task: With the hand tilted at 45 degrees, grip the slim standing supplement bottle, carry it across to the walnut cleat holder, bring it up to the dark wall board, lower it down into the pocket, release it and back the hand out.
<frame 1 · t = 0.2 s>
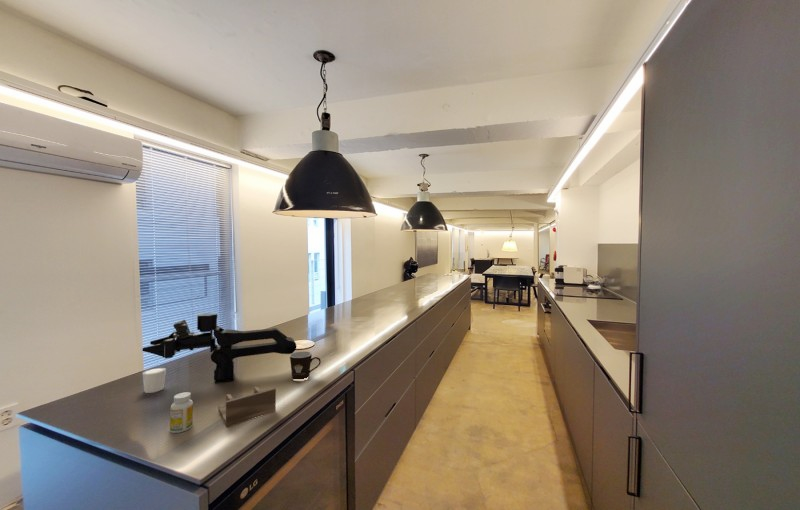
hand: (146, 346, 111), 17 cm above the worktop, tool horizontal, fingers open, 9 cm apart
supplement bottle: (181, 429, 87), on the worktop
cleat holder: (248, 412, 96), on the worktop
coffee mug: (303, 379, 123), on the worktop
white cup: (154, 390, 112), on the worktop
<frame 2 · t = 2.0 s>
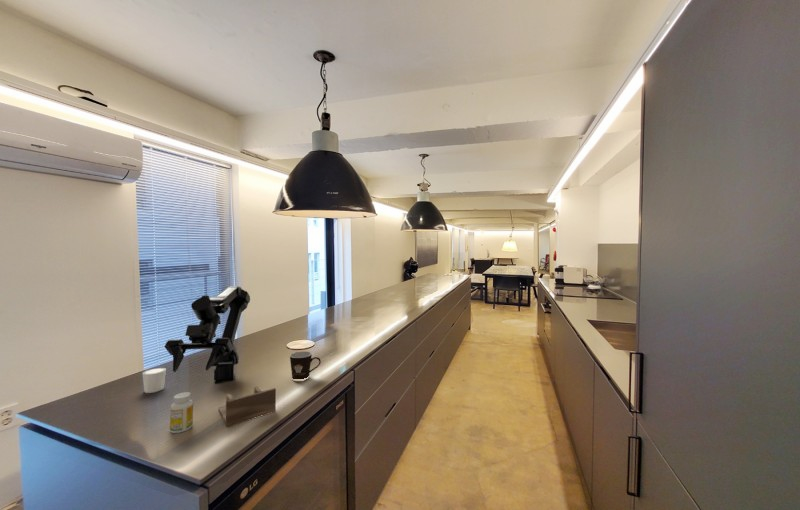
hand: (190, 370, 95), 14 cm above the worktop, tool tilted 45°, fingers open, 9 cm apart
nothing on the worktop moved.
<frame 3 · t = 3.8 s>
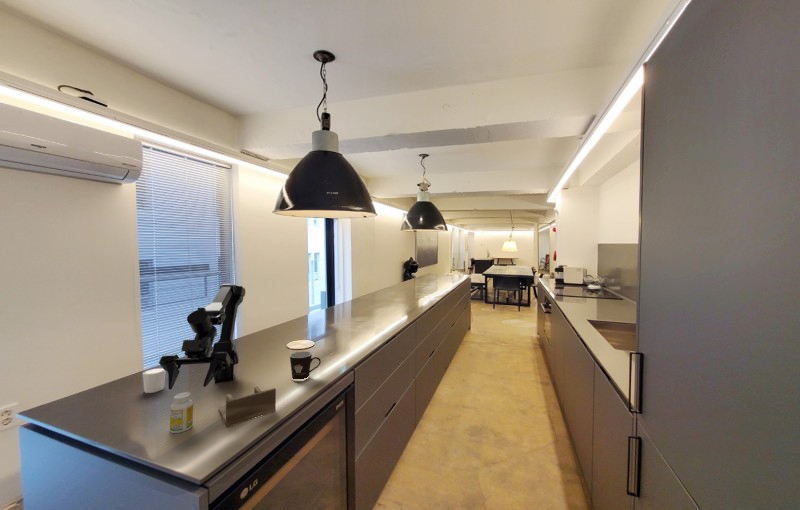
hand: (187, 387, 90), 10 cm above the worktop, tool tilted 45°, fingers open, 9 cm apart
nothing on the worktop moved.
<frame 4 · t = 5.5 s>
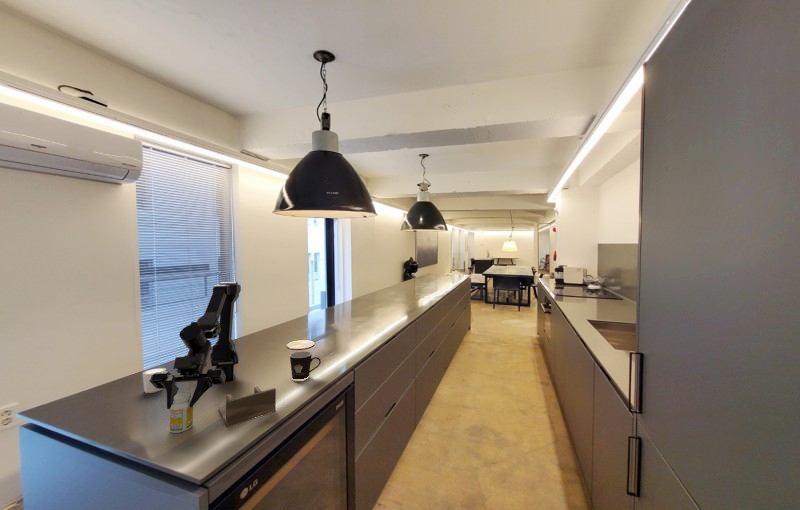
hand: (179, 407, 86), 7 cm above the worktop, tool tilted 45°, fingers closed on supplement bottle, 5 cm apart
supplement bottle: (181, 429, 87), on the worktop, touching gripper
everything else where it was.
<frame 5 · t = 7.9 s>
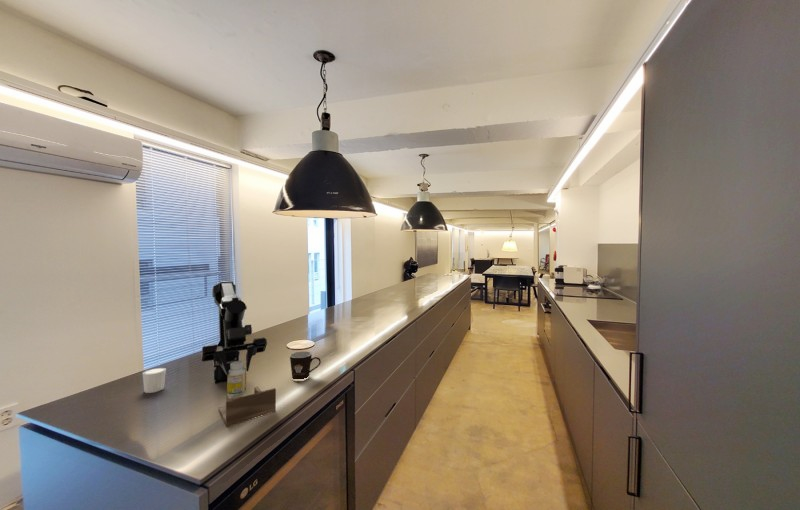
hand: (237, 372, 95), 13 cm above the worktop, tool tilted 45°, fingers closed on supplement bottle, 5 cm apart
supplement bottle: (236, 393, 96), point 6 cm above the worktop, touching gripper
everything else where it was.
when the fingers open (9 cm above the worktop, at t = 10.4 s): supplement bottle stays where it is, resting on cleat holder.
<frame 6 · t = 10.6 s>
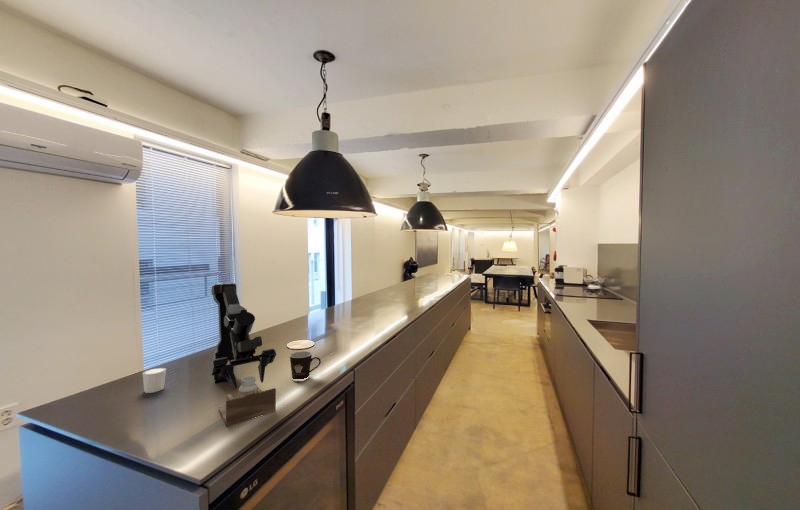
hand: (249, 385, 95), 9 cm above the worktop, tool tilted 45°, fingers open, 7 cm apart
supplement bottle: (247, 409, 96), point 1 cm above the worktop, touching cleat holder
everything else where it was.
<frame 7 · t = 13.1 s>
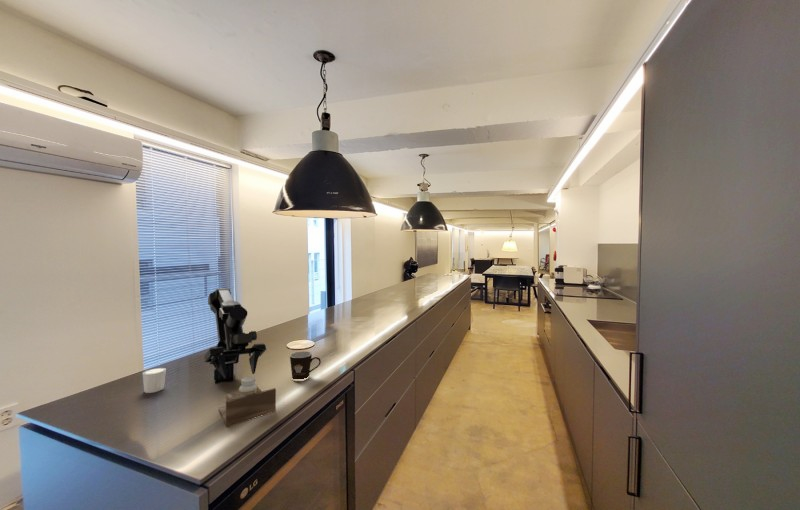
hand: (240, 375, 102), 9 cm above the worktop, tool tilted 40°, fingers open, 9 cm apart
nothing on the worktop moved.
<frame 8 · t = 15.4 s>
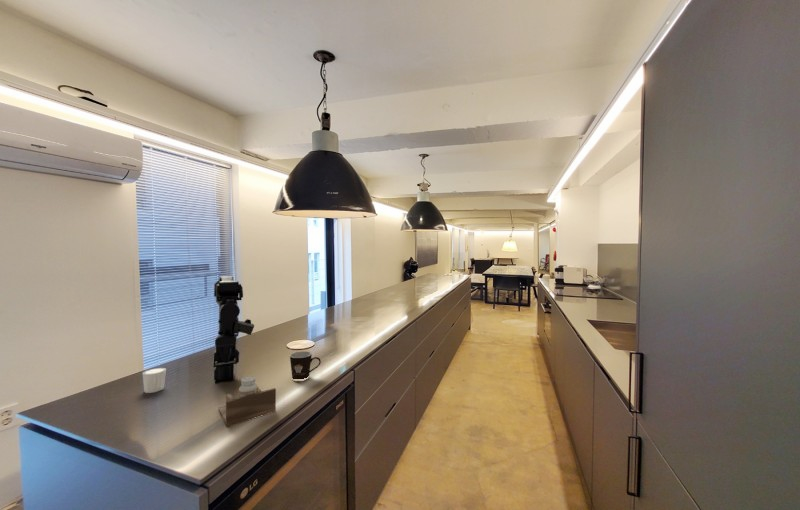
hand: (227, 358, 109), 13 cm above the worktop, tool pointing down, fingers open, 9 cm apart
nothing on the worktop moved.
at the end: supplement bottle 0.1 cm off-centre on the cleat holder, point 1.0 cm above the cleat holder's base; supplement bottle tilted 0°; the gripper is holding nothing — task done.
